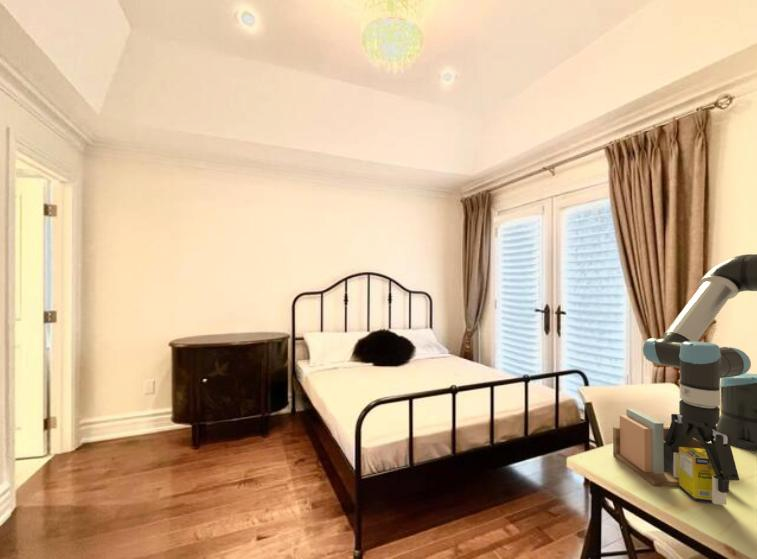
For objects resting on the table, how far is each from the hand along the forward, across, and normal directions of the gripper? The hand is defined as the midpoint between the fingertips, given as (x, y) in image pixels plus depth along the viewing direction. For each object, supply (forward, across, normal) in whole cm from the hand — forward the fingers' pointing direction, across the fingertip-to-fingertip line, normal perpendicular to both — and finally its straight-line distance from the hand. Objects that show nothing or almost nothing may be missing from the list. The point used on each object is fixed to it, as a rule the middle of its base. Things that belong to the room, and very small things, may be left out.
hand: (698, 489), depth 87 cm
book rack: (+1, -12, +1) cm, 12 cm away
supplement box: (+2, 0, 0) cm, 2 cm away
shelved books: (0, -13, -5) cm, 14 cm away
